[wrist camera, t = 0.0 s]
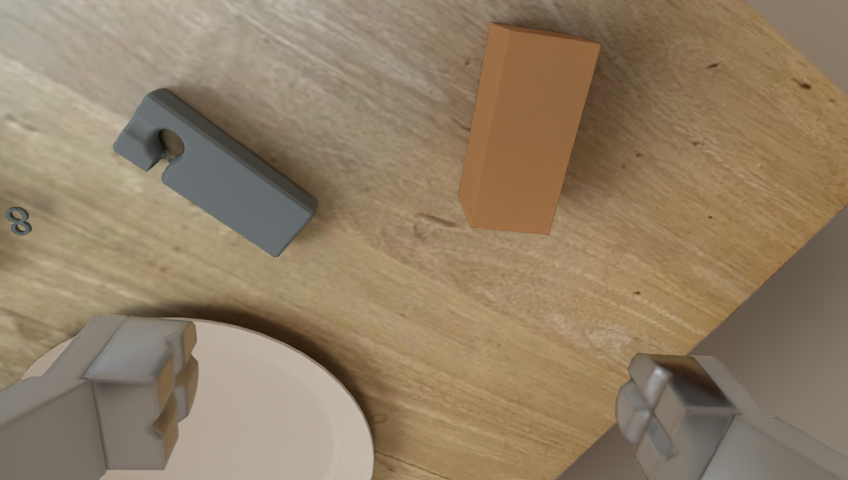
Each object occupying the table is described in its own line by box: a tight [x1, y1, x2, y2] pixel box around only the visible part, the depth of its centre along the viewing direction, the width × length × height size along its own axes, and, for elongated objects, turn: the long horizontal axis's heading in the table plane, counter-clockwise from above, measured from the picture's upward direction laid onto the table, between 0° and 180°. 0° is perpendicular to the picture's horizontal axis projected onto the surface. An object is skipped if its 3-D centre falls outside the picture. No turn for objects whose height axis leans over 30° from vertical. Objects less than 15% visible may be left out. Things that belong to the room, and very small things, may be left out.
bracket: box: [113, 88, 317, 257], centre depth 29 cm, size 4×10×2 cm, turn 48°
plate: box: [20, 318, 375, 480], centre depth 38 cm, size 26×26×2 cm
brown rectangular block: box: [458, 23, 601, 235], centre depth 28 cm, size 10×4×4 cm, turn 172°
